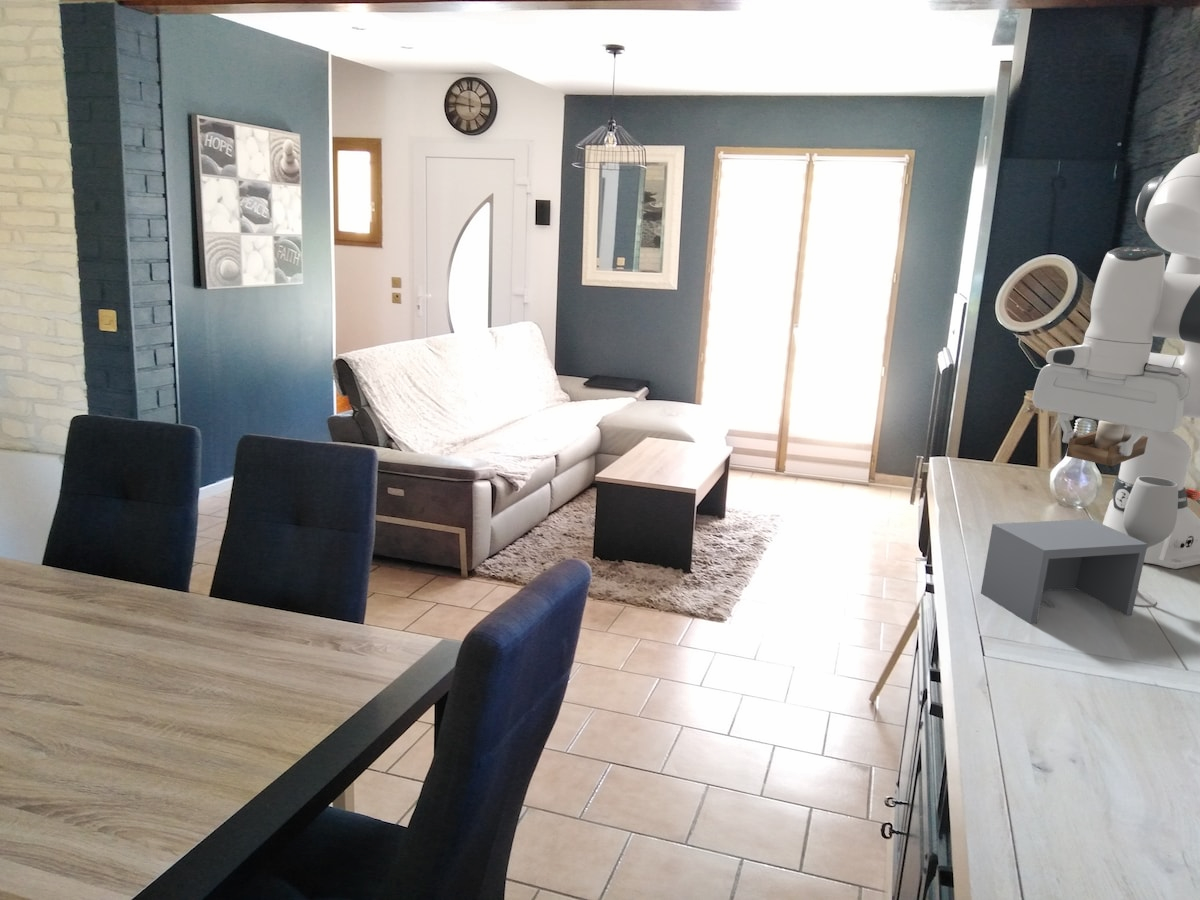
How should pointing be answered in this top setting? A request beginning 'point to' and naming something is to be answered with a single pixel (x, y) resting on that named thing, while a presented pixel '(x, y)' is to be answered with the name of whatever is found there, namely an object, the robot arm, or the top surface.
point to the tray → (1101, 455)
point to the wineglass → (1151, 516)
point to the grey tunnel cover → (1061, 564)
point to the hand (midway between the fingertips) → (1095, 448)
